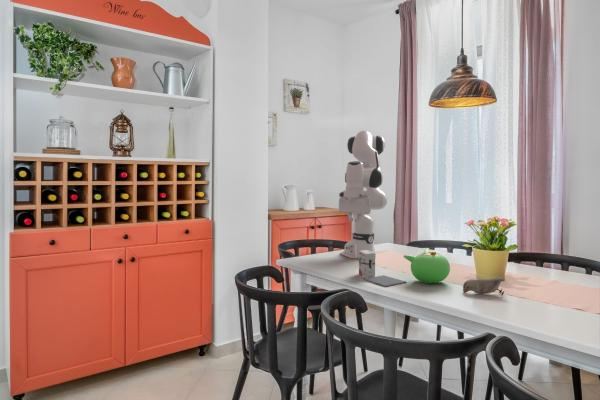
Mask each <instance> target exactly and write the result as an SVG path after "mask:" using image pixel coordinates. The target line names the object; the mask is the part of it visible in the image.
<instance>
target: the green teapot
mask: <svg viewBox="0 0 600 400" xmlns="http://www.w3.org/2000/svg"><path fill="white" fill-rule="evenodd" d="M403 258H404V259H406V260H407V261H409V262H410V271H411V274H412V275H413V277H414V278H415V279H416V280H418V281H419V282H421V283H425V284H437V283H440V282H442V281H444V280H446V278H448V276H449V274H450V272H451V265H450V263H449V261H448V259H447V258H446V257H445V255H442V254H441V253H439V252H436V251H430V250H429V248H425V249H424V251H423V253H420V254H418V255H410V254H404V255H403Z"/></svg>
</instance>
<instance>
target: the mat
mask: <svg viewBox="0 0 600 400" xmlns="http://www.w3.org/2000/svg"><path fill="white" fill-rule="evenodd" d="M363 281H365V282H367V283H368V282H369V283H372V284H375V285H377V286H381V287H384V288H388V287H389V288H390V287H393V286H398V285H403V284H407V281H406V280H401V279H399V278H394V277H391V276H387V275H377V276H375V277H371V278H365V277H364V278H363Z"/></svg>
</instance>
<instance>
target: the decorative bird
mask: <svg viewBox="0 0 600 400" xmlns="http://www.w3.org/2000/svg"><path fill="white" fill-rule="evenodd" d="M504 280H505V277H495V278H478V279H473V278H472V279H467V280H465V282H464V283H463V285H462V290H463V291H462V293H463V294H465V293H467V292H473V293H475V294H480V295H485V294H491V293H494V292H496V291H499V292H498V293H499V295H500V294H501V296H504V293H505V290H503V288H501V289H499V287H500V285H501V282H503V281H504ZM502 290H503V291H502Z"/></svg>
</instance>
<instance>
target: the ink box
mask: <svg viewBox="0 0 600 400" xmlns="http://www.w3.org/2000/svg"><path fill="white" fill-rule="evenodd" d="M375 253H376V252H375ZM375 253H374V252H372V251H369V250H363V251H359V258H358V275H360V276H362V277H364V279H365V278H371V277H376V257H375Z"/></svg>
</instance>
